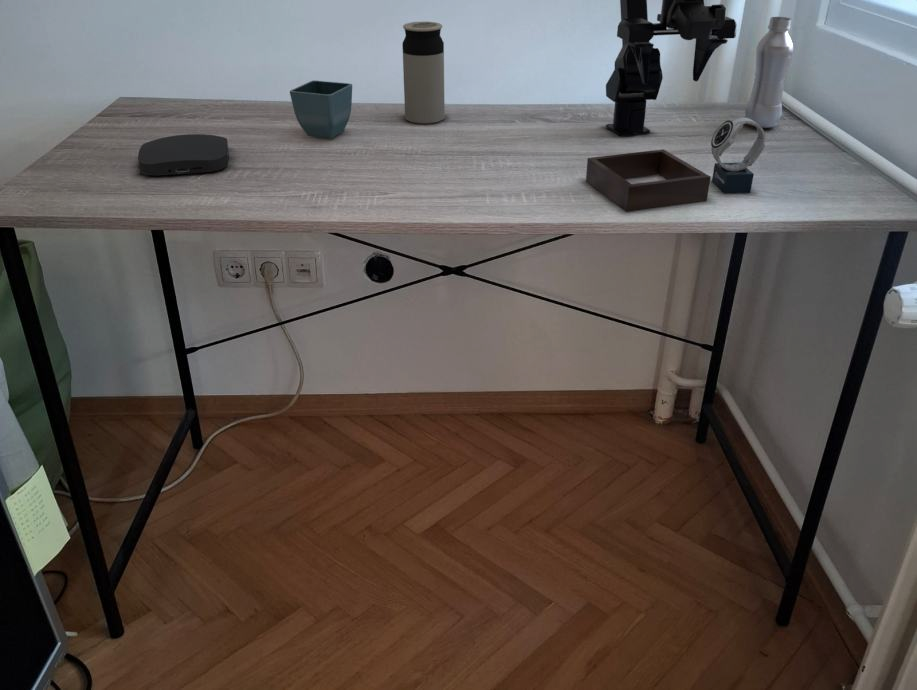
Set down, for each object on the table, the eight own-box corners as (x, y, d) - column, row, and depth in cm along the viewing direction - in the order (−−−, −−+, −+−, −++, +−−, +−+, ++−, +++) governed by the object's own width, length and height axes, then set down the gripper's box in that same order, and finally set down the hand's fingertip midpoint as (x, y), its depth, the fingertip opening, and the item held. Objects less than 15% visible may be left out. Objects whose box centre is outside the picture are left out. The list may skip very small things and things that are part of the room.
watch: (700, 181, 136) (710, 115, 130) (747, 180, 137) (760, 113, 131) (712, 194, 131) (723, 125, 126) (761, 192, 132) (774, 124, 126)
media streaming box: (147, 151, 150) (143, 135, 148) (230, 146, 152) (227, 130, 151) (137, 179, 138) (133, 161, 136) (228, 173, 140) (225, 155, 139)
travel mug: (452, 117, 168) (451, 23, 159) (430, 127, 163) (428, 30, 153) (419, 111, 172) (417, 19, 163) (397, 120, 166) (393, 26, 157)
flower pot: (293, 138, 156) (287, 90, 152) (317, 125, 163) (312, 79, 159) (334, 144, 154) (330, 95, 149) (356, 130, 161) (353, 83, 156)
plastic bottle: (780, 132, 159) (803, 22, 149) (744, 130, 160) (763, 21, 150) (776, 122, 165) (797, 15, 154) (741, 120, 166) (760, 14, 155)
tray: (585, 181, 136) (587, 157, 134) (660, 172, 140) (663, 149, 138) (626, 212, 125) (629, 186, 123) (706, 201, 129) (710, 176, 127)
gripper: (648, -8, 124) (637, 97, 132) (762, -13, 127) (744, 91, 135) (620, -19, 133) (611, 80, 141) (727, -22, 136) (712, 75, 144)
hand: (670, 82), depth 140 cm, fingers open, 9 cm apart
